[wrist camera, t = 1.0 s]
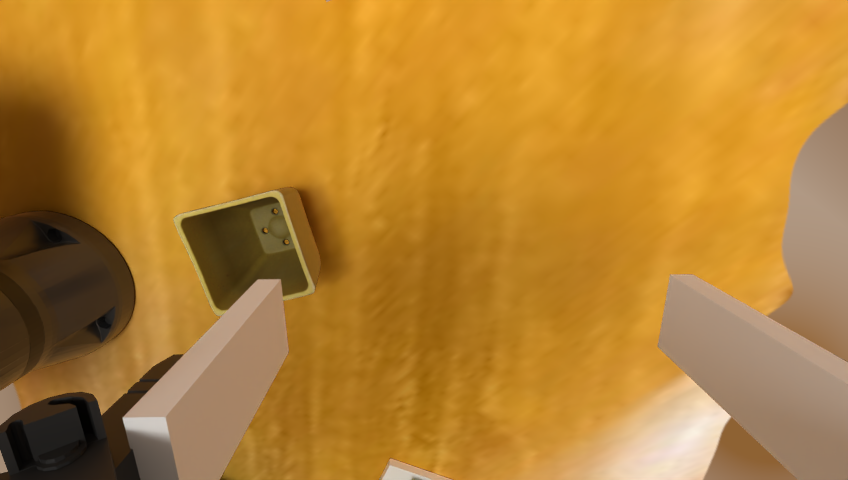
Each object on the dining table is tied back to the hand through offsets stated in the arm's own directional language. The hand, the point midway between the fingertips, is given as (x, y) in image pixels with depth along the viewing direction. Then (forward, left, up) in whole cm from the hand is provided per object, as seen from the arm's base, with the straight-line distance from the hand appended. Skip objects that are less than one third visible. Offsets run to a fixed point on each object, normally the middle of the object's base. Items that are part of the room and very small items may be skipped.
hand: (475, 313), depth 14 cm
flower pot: (-16, +1, -27) cm, 31 cm away
